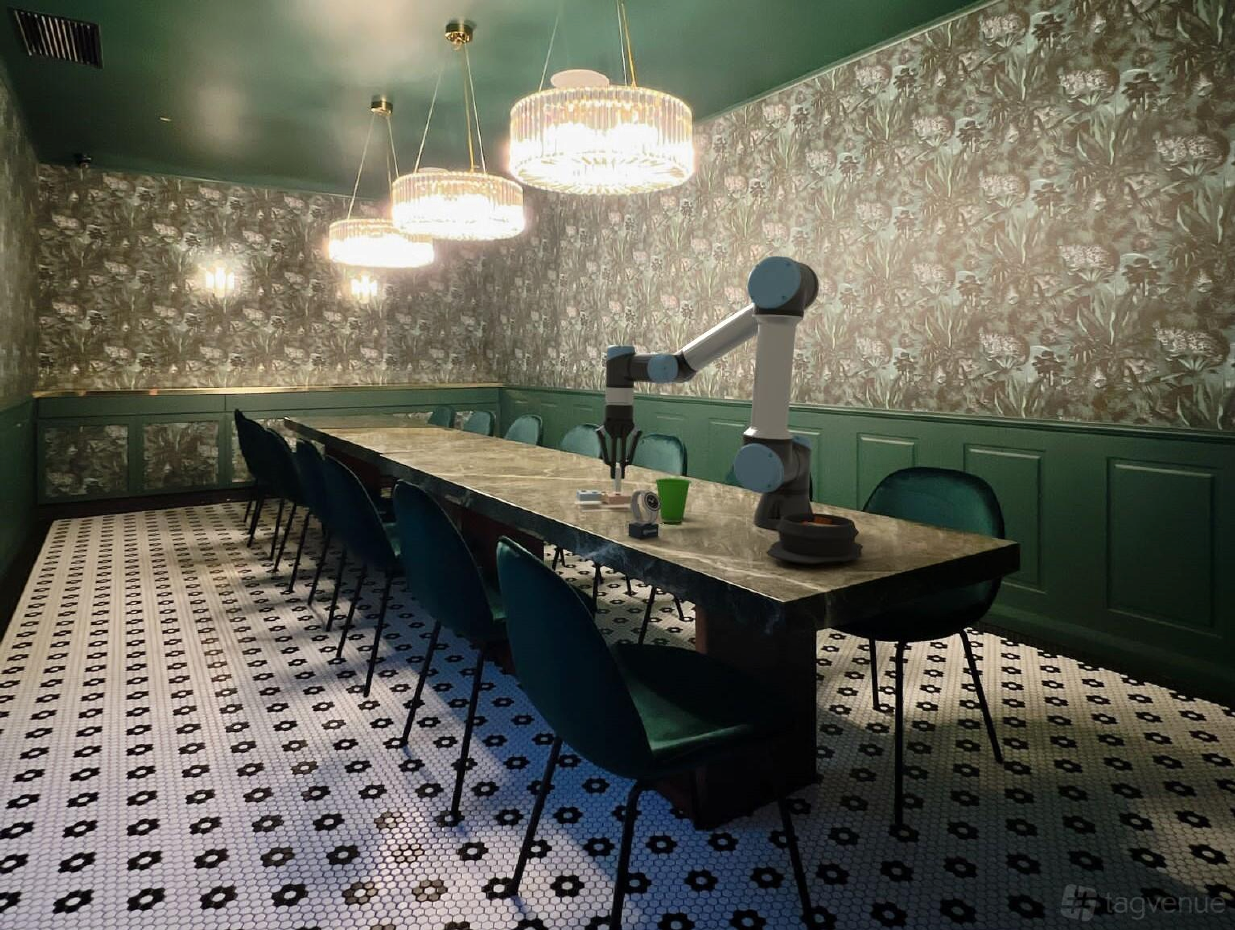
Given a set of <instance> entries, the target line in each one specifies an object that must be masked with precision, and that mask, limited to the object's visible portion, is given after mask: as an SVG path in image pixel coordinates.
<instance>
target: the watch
mask: <svg viewBox="0 0 1235 930" xmlns="http://www.w3.org/2000/svg"><path fill="white" fill-rule="evenodd" d="M640 496H641V500H640V501H641V506H642V508H643V509H644V510H645V512H646V514H647V516H648V518H647V520H645V519H643V515H642V511H641V509H640V504H639V497H640ZM630 508H631V511H630V512H631V515H632V517H633V520H634V521H636V522H629V523H628V537H629V536H630V537H629V538H633V539H636V540H640V541H642V540H647V539H652V538H653V537H654V538H658V537H659V527H660V526H659V523H657V522H655V521H656V520H657V518H658V516H659V514H660V508H661V500H660V499H659V496H658V494H657V493H655V492H654V491H652V490H649V489H639V490H636V491H634V492H632V495H631V501H630Z"/></svg>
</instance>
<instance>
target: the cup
mask: <svg viewBox="0 0 1235 930" xmlns="http://www.w3.org/2000/svg"><path fill="white" fill-rule="evenodd" d="M654 481H655V483H656V487H657V489H656V490H657V496H658V497H659V499H660V500H661V508H660V510H659V513H660V516H661V517H660V518H662V520H663V519H664V520H673V521H662V524H663V523H664V524H663V525H666V524H667V526H680V525H682V523H683V521H682V519H684V515H685V509H686V504H687V498H688V493H689V489H690V484H691V483H692V482H691V480H690V479H686V478H685V479H684V478H676V477H675V478H674V477H672V478H671V477H669V478H668V477H666V478H664V477H663V478H656V479H655V480H654ZM679 520H681V521H679Z"/></svg>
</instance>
